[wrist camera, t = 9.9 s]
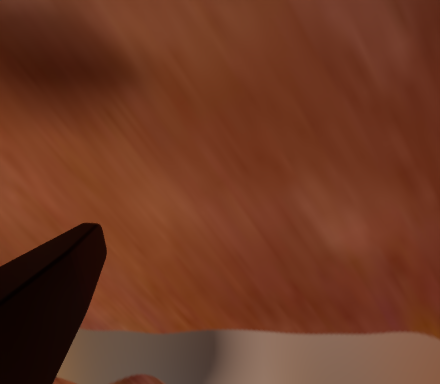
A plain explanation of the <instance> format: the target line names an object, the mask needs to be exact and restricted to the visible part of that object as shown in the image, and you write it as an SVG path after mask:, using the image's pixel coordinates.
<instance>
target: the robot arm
mask: <svg viewBox="0 0 440 384" xmlns="http://www.w3.org/2000/svg"><path fill="white" fill-rule="evenodd" d="M106 255H107V249H106V244H105V239H104V235H103V230H102V227H101V225H99V224H97V223H82V224H80V225H78V226H76V227H74V228H73V229H71V230H69V231H67V232H65V233H63V234H61V235H59V236H57V237H56V238H54V239H52V240H50V241H48V242H46V243H44V244H42V245H40V246H38V247H37V248H35V249H33V250H31V251H29V252H27V253H25V254H23V255H21V256H19V257H18V258H16V259H14V260H12V261H10V262H8V263H6V264H4V265H2V266H0V384H53V382H54V380H55V378H56V376H57V373H58V371H59V369H60V367H61V365H62V363H63V361H64V359H65V357H66V355H67V353H68V350H69V348H70V346H71V344H72V342H73V340H74V338H75V336H76V333H77V332H78V330H79V327H80V325H81V323H82V321H83V319H84V317H85V315H86V312H87V310H88V307H89V305H90V302H91V299H92V296H93V294H94V291H95V288H96V285H97V282H98V279H99V276H100V273H101V271H102V268H103V265H104V262H105V259H106Z"/></svg>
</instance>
